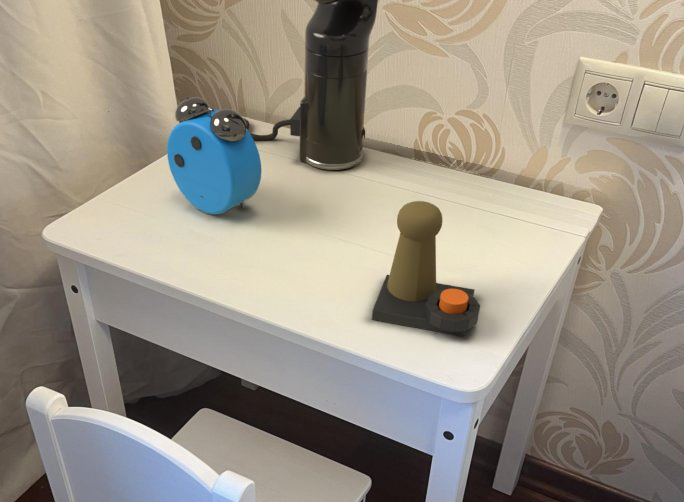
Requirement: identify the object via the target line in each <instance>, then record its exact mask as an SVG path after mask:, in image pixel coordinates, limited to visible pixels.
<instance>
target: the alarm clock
mask: <svg viewBox="0 0 684 502" xmlns="http://www.w3.org/2000/svg"><path fill="white" fill-rule="evenodd" d="M174 117H175V120H176V122H179V121H181V122H179V123H177V124H176V125H175V126H174V127H173V128H172V130H171V131H170V133H169V136H168V140H167V146H166V155H167V161H168V167H169V169H170V172H171V176H172V178H173V180H174V182H175V184H176V186H177V188H178V189H179V191H180V193H181V194H182V195H183V196H184V198H185V199H186V200H187V201H188V203H190V204H191V205H192V206H193V207H194V208H196V209H197V210H199V211H201V212H203V213H205V214H208V215H220V214H223V213H225V212H227V211H229V210H231V209H232V208H234V207H236V206H238V205H240V207H241V209H245V202H246V201H248V200H250V199H251V198H252V197H253V196H254V195H255V194H256V193H257V191H258V189H259V187H260V184H261V180H262V160H261V155H260V152H259V149H258V146H257V144H256V142H255V140H253V138H252V136H251V134H252V133H251V132H250V131H249V130H247V127H246V122H245V120H244V118H245V117H243V116H242V115H241V114H240V113H239V112H238V111H236V110H234V109H231V108H222V109H214V108H212V107H211V106H210V104H209V102H208V101H207V100H206V99H204V98H203V97H200V96H193V97H188V95H187V96H185V100H182V101H181V102H180V103H179V104H178V105H177V106H176V109H175V112H174ZM185 119H186V120H185ZM182 120H183V121H182ZM250 133H251V134H250Z"/></svg>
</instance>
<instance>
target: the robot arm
mask: <svg viewBox="0 0 684 502" xmlns="http://www.w3.org/2000/svg"><path fill="white" fill-rule="evenodd" d="M313 1H314V2H315V3H317V5H316V8H315V10H314V13H313V14H312V15H311V18H310V19H309V20H308V22H307V24H306V26H305V31H304V32H305V33H304V88H303V89H304V91H303V93H304V94H303V95H304V96H303V98H301V100H300V102H299V103H300V104H299V107H298V108H297V109H296V111H295V112H294V113H293V115H292V116H291V117H290V118H289V119H284V120H281V121H278V122H276V123H275V124H274V125H273V126H272V131H271V133H269V134H255V133H252V132H249V133H250V134H251V136H252V138H253V140H254V141H257V142H259V141H260V142H263V141H265V142H266V141H272V140H274V139H276V138H277V136H278V134H279V129H281V128H283V127H287V126H290V127H289V128H290V129H289V130H290V131H289V134H290V136H292V137H299V162H303V163H307V164H308V165H309V166H312V167H315V168H317V169H321V170H328V171H340V170H341V171H342V170H346V169H350V168H353V167H356V166H357V165H359V164H360V163H361V162H362V160H363V156H364V155H363V148H364V143H363V142H364V140H366V129H365V113H366V95H367V80H368V65H369V49H370V47H369V46H370V38H371V34H372V31H373V29H374V27H375V23H376V19H377V13H378V4H379V0H313ZM243 118H244V120H245V122H246V127H247V130H248V129H249V127H250V122H249V120H248V119H246V118H245V117H243ZM248 131H249V130H248Z"/></svg>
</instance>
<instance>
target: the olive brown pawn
mask: <svg viewBox="0 0 684 502" xmlns="http://www.w3.org/2000/svg"><path fill="white" fill-rule="evenodd" d="M396 225H397V229H398V231H399V236H398V240H397V244H396V248H395V252H394V255H393V260H392V264H391V268H390V270H389V271H390V272H389V274H388V275H389V279H388V283H387V288H388V290H389V292H390V293H391V294H392V295H393V296H395V297H397V298H399V299H402V300H406V301H415V302H416V301H423V300H426V299H428V297H429V296H430V295H432V294H433V293H435V292H436V283H437V239H436V237H437V235H439V233H440V231H441V229H442V227H443V213H442V211H441V210H440V208H439V207H438V206H437V205H435V204H433V203H431V202H428V201H424V200H414V201H410V202H407V203H405V204H404V205H402V207H401V208H400V209H399V211H398V214H397V218H396Z"/></svg>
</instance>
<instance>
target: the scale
mask: <svg viewBox="0 0 684 502" xmlns="http://www.w3.org/2000/svg"><path fill="white" fill-rule="evenodd" d="M389 275H390V274H386V275H385V278H384V280H383V283H382V286H381V288H380V291H379V293H378V296H377V298H376V300H375V303H374V306H373V308H372V313H371V320H372V321H377V322H381V323H382V322H383V323H388V324H392V325H393V324H394V325H399V326H405V327H410V328H415V329H416V328H417V329H421V330H427V331H432V332H437V333H443V334H449V335H453V336H460V337H465V334H466V331H468V330H470V329H472V328H473V327H475V326H477V324H478V321H479V320H478V319H479V315H480V309H481V304H480V303H479V302H478V300H477V298H476V297H475V291H476V290H475V288H469V287H464V286H463V287H462V286H456V285H451V284H445V283H441V282H436V292H435V293H433V294H432V295H430V296H429V297H428V299H426V300H423V301H416V302H415V301H406V300H402V299H399V298H397V297H395V296H393V295H392V294H391V293H390V292H389V290H388V288H387V283H388V279H389ZM446 289H459V290H462V291H464V292H465V293H466V294H467V295H468V304H467V309H466V311H465V312H464V313H463V314H456V315H453V314H448V313H445V312H443V311H441V310H440V308H439V302H440V295H441V293H442V292H443V291H444V290H446Z"/></svg>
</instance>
